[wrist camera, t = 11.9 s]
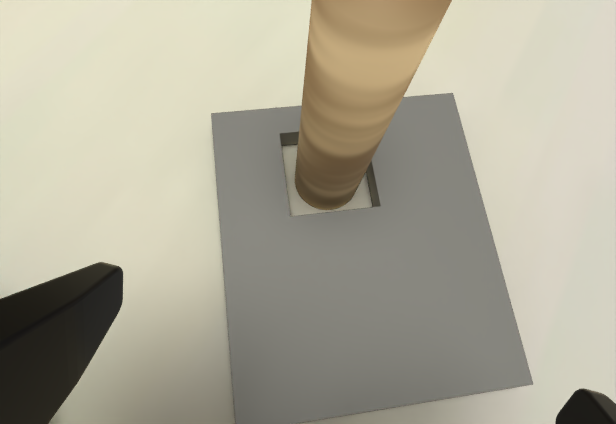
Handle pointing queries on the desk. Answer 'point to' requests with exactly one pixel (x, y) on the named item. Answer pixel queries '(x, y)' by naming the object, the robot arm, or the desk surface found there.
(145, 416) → the desk surface
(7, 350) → the robot arm
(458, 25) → the desk surface
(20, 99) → the desk surface
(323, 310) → the hole plate
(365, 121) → the tall dowel
